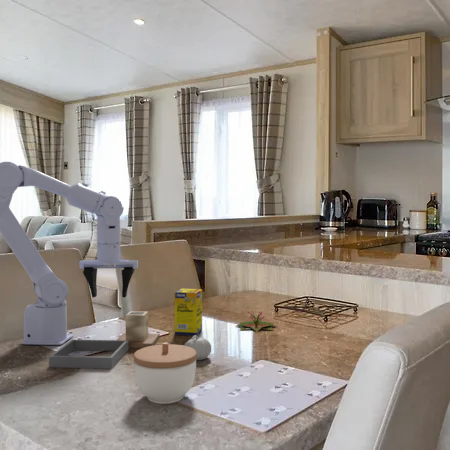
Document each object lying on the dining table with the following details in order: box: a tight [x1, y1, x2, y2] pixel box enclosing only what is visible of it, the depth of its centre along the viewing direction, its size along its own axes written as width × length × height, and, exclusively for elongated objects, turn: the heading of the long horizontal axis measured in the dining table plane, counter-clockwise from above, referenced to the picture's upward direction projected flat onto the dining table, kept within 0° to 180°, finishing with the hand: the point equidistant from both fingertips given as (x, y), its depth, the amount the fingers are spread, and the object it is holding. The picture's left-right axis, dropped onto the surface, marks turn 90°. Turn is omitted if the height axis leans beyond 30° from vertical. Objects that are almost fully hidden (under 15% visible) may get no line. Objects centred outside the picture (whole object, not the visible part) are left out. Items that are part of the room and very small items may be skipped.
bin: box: [48, 339, 129, 369], centre depth 111 cm, size 13×13×2 cm
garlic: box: [183, 334, 212, 361], centre depth 110 cm, size 6×5×5 cm
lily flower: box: [236, 311, 279, 333], centre depth 139 cm, size 12×12×5 cm
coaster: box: [116, 332, 160, 349], centre depth 123 cm, size 9×9×1 cm
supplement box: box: [173, 288, 203, 337], centre depth 132 cm, size 6×6×11 cm
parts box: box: [125, 310, 149, 341], centre depth 123 cm, size 4×4×6 cm
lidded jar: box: [133, 342, 197, 405], centre depth 88 cm, size 11×11×9 cm
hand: (109, 296), depth 132 cm, fingers open, 7 cm apart
